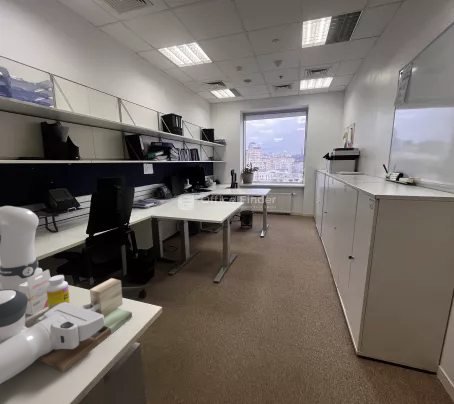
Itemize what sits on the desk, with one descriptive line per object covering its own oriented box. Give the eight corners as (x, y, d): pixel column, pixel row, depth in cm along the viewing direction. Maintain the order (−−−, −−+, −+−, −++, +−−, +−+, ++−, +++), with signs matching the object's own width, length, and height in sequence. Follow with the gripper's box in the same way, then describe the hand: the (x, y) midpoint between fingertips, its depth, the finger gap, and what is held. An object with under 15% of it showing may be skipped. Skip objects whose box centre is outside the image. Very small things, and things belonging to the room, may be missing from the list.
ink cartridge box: (44, 300, 90) (40, 267, 88) (54, 302, 89) (50, 268, 87) (21, 313, 82) (16, 277, 80) (32, 315, 81) (27, 279, 79)
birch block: (92, 315, 78) (89, 289, 77) (113, 301, 86) (111, 278, 85) (101, 318, 76) (99, 292, 75) (122, 304, 84) (120, 280, 83)
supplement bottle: (67, 311, 83) (63, 280, 82) (46, 315, 81) (42, 283, 79) (72, 301, 90) (69, 272, 88) (52, 305, 87) (49, 275, 85)
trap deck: (24, 351, 64) (23, 346, 64) (97, 306, 87) (97, 301, 86) (63, 372, 58) (62, 365, 58) (132, 317, 80) (131, 312, 80)
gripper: (34, 331, 68) (78, 306, 80) (77, 350, 60) (118, 319, 73) (31, 312, 67) (76, 290, 79) (75, 330, 59) (117, 302, 72)
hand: (97, 304), depth 76 cm, fingers closed
